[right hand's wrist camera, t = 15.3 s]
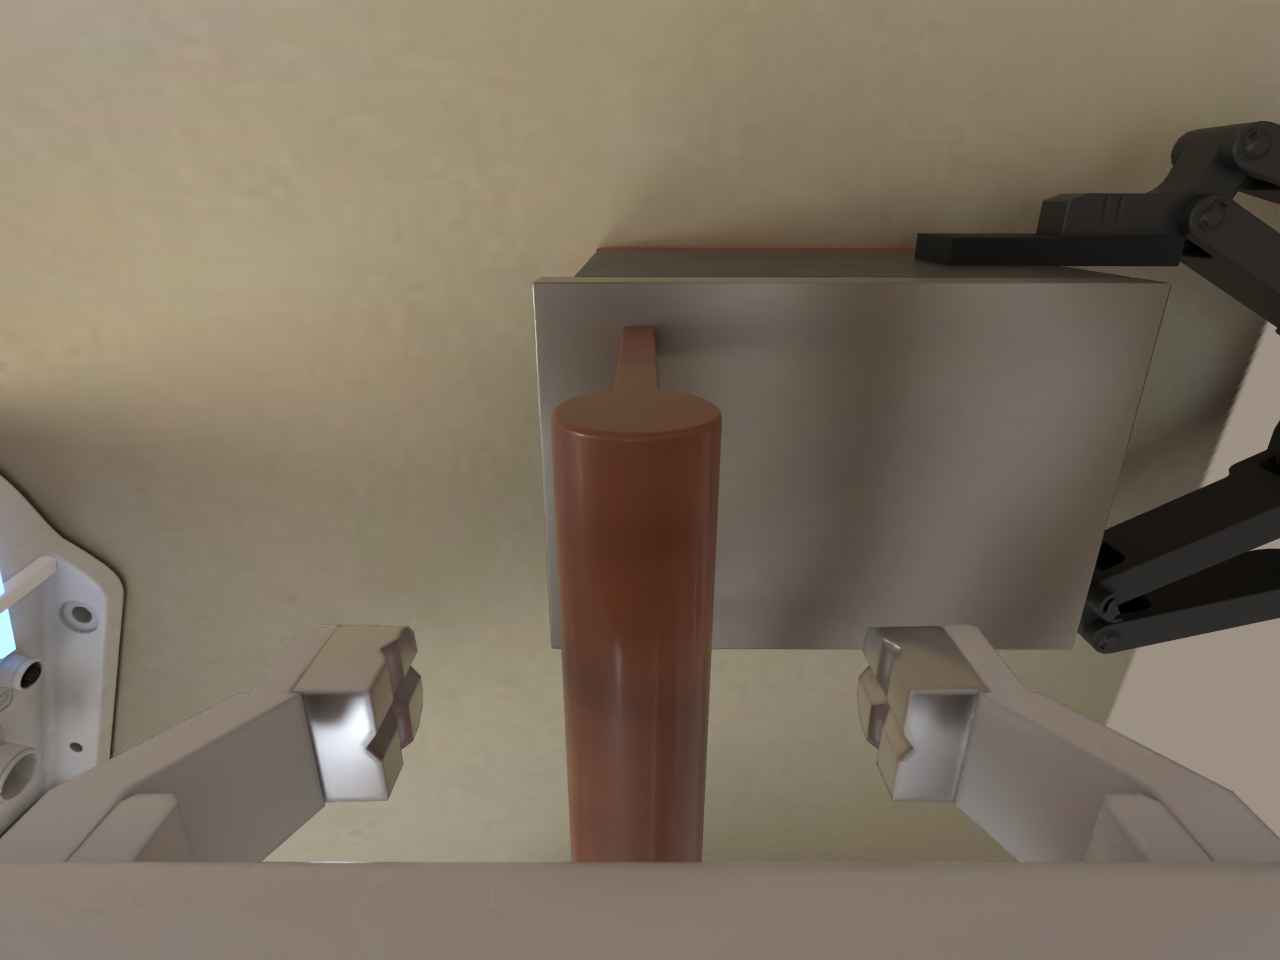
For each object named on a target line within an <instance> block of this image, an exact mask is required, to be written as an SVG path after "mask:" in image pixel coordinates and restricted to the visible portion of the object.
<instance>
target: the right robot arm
mask: <svg viewBox="0 0 1280 960" xmlns="http://www.w3.org/2000/svg"><path fill="white" fill-rule="evenodd" d="M123 597H124V591H123V586H122V583H121V581H120V579H119V578H118V576H117V575H116V574H115V573H114V572H113V571H112V570H111V569H110V568H109V567H107V566H106V565H105V564H103V563H102V562H101V561H99V560H98V559H96V558H95V557H93V556H92V555H90V554H88V553H87V552H85V551H84V550H82V549H80V548H79V547H77V546H75V545H74V544H72V543H70V542H69V541H67V540H65V539H64V538H62V537H61V536H60V535H59V534H58V533H57V532H56V531H55V530H54V529H53V528H52V527H51V526H50V525H49V524H48V523H47V522H46V521H45V520H44V519H43V518H42V517H41V515H40V514H39V513H38V512H37V511H36V510H35V509H34V507H33V506H32V505H31V504H30V503H29V502H28V501H27V500H26V498H25V497H24V496H23V495H22V494H21V493H20V492H19V491H18V490H17V489H16V488H15V487H13V486H12V485H11V484H10V483H9V482H8V481H7V480H6V479H5V478H3V477H2V476H1V475H0V960H1280V838H1279V837H1278V836H1277V835H1276V834H1275V833H1274V832H1273V831H1272V830H1271V829H1270V828H1269V827H1268V826H1267V825H1266V824H1265V823H1264V822H1263V821H1262V820H1261V819H1260V818H1259V817H1258V816H1257V815H1256V814H1255V813H1254V812H1253V811H1252V810H1251V809H1250V808H1249V807H1248V806H1247V805H1246V804H1245V803H1244V802H1243V801H1242V800H1241V799H1240V798H1239V797H1238V796H1237V795H1236V794H1235V793H1234V792H1233V791H1231V790H1229V789H1227V788H1225V787H1223V786H1221V785H1219V784H1217V783H1215V782H1213V781H1211V780H1209V779H1207V778H1205V777H1204V776H1202V775H1200V774H1198V773H1196V772H1194V771H1192V770H1190V769H1188V768H1186V767H1184V766H1182V765H1180V764H1178V763H1176V762H1174V761H1172V760H1171V759H1169V758H1167V757H1165V756H1163V755H1161V754H1159V753H1157V752H1155V751H1153V750H1151V749H1149V748H1147V747H1145V746H1143V745H1141V744H1139V743H1138V742H1135V741H1134V740H1132V739H1130V738H1128V737H1126V736H1124V735H1122V734H1120V733H1118V732H1116V731H1114V730H1112V729H1110V728H1108V727H1106V726H1104V725H1103V724H1101V723H1099V722H1097V721H1095V720H1093V719H1091V718H1089V717H1087V716H1085V715H1083V714H1081V713H1079V712H1077V711H1075V710H1073V709H1071V708H1070V707H1068V706H1066V705H1064V704H1062V703H1060V702H1058V701H1056V700H1054V699H1052V698H1050V697H1048V696H1046V695H1044V694H1042V693H1030V692H1029V691H1028V690H1027V689H1026V687H1025V686H1024V685H1023V684H1022V682H1021V681H1020V680H1019V679H1018V677H1017V676H1016V675H1015V674H1014V672H1013V671H1012V670H1011V669H1010V667H1009V666H1008V665H1007V664H1006V663H1005V661H1004V660H1003V659H1002V658H1001V656H1000V655H999V654H998V653H997V651H996V650H995V649H994V648H993V646H992V645H991V644H990V643H989V641H988V640H987V639H986V638H985V636H984V635H983V634H982V633H981V632H980V630H979V629H978V628H977V627H975V626H973V625H971V624H962V625H936V626H905V627H868V630H867V632H866V635H865V639H864V645H863V653H864V655H865V657H866V659H867V661H868V663H869V666H868V667H867V669H866V670H865V671H864V672H863V673H862V674H861V675H860V676H859V682H858V691H857V702H858V715H859V719H860V723H861V727H862V730H863V732H864V735H865V737H866V740H867V741H868V742H869V743H871V744H872V745H873V746H875V747H876V748H877V749H879V751H878V758H877V766H878V768H879V771H880V773H881V775H882V778H883V780H884V782H885V784H886V787H887V789H888V791H889V794H890V796H891V798H892V801H922V802H955V806H956V807H957V808H958V809H960V810H961V811H962V812H963V813H964V814H965V815H966V816H968V817H969V818H970V819H971V820H972V821H973V822H974V823H976V824H977V825H978V826H979V827H980V828H981V829H982V830H984V831H985V832H986V833H987V834H988V835H989V836H990V837H991V838H993V839H994V840H995V841H996V842H997V843H998V844H999V845H1001V846H1002V847H1003V848H1004V849H1005V850H1006V851H1007V852H1009V853H1010V854H1011V855H1012V856H1013V857H1014V858H1015V859H1017V860H1018V861H1019V862H261V861H262V860H264V859H265V858H266V857H267V856H268V855H269V854H270V853H272V852H273V851H274V850H275V849H276V848H277V847H278V846H280V845H281V844H282V843H283V842H284V841H285V840H286V839H288V838H289V837H290V836H291V835H292V834H293V833H294V832H296V831H297V830H298V829H299V828H300V827H301V826H302V825H304V824H305V823H306V822H307V821H308V820H309V819H310V818H312V817H313V816H314V815H315V814H316V813H317V812H318V811H320V810H321V809H322V808H323V807H324V806H325V803H324V802H357V801H388V798H389V796H390V794H391V791H392V789H393V787H394V784H395V782H396V780H397V777H398V775H399V773H400V770H401V768H402V766H403V759H402V752H401V749H403V748H404V747H405V746H407V745H408V744H409V743H411V742H412V741H413V740H414V737H415V735H416V732H417V729H418V727H419V723H420V717H421V712H422V706H423V689H422V681H421V676H420V675H419V674H418V673H417V672H416V671H415V670H414V669H413V668H412V667H411V663H412V661H413V659H414V657H415V655H416V653H417V646H416V641H415V635H414V631H413V630H412V629H411V628H410V627H409V626H374V625H343V626H342V625H309V626H305V627H303V628H302V629H301V630H300V631H299V632H298V634H297V635H296V636H295V637H294V639H293V640H292V641H291V642H290V644H289V645H288V646H287V647H286V649H285V650H284V651H283V652H282V654H281V655H280V656H279V657H278V659H277V660H276V661H275V662H274V664H273V665H272V666H271V667H270V668H269V670H268V671H267V672H266V673H265V675H264V676H263V677H262V678H261V680H260V681H259V682H258V683H257V685H256V686H255V687H254V688H253V690H252V691H251V692H250V693H238V694H236V695H234V696H232V697H230V698H228V699H226V700H224V701H222V702H220V703H218V704H216V705H214V706H212V707H210V708H208V709H206V710H204V711H202V712H201V713H199V714H197V715H195V716H193V717H191V718H189V719H187V720H185V721H183V722H181V723H179V724H177V725H175V726H173V727H171V728H169V729H167V730H165V731H164V732H162V733H160V734H158V735H156V736H154V737H152V738H150V739H148V740H146V741H144V742H142V743H140V744H138V745H136V746H134V747H132V748H130V749H128V750H127V751H125V752H123V753H121V754H119V755H117V756H115V757H113V758H111V759H110V748H111V737H112V725H113V714H114V702H115V690H116V679H117V667H118V656H119V644H120V633H121V621H122V609H123ZM86 609H88V610H89V611H90V612H89V611H87V610H86Z"/></svg>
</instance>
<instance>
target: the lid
mask: <svg viewBox="0 0 1280 960" xmlns="http://www.w3.org/2000/svg"><path fill="white" fill-rule="evenodd" d="M1170 289H1171V284H1170V283H1166V282H1159V281H1153V280H1146V279H1140V278H922V277H540V278H539V279H537V280H536V281H535V282H533V283H532V297H533V315H534V334H535V352H536V371H537V389H538V408H539V426H540V445H541V463H542V482H543V500H544V519H545V537H546V556H547V574H548V593H549V611H550V630H551V646H552V648H553V649H562V670H563V691H564V712H565V733H566V754H567V775H568V796H569V817H570V837H571V858H572V862H702V844H703V823H704V801H705V780H706V758H707V736H708V715H709V693H710V672H711V650H712V649H863V645H864V639H865V635H866V632H867V630H868V627H905V626H936V625H962V624H971V625H973V626H975V627H977V628H978V629H979V630H980V632H981V633H982V634H983V635H984V636H985V638H986V639H987V640H988V641H989V643H990V644H991V645H992V646H993V648H994V649H1009V650H1071V649H1072V648H1073V645H1074V641H1075V637H1076V634H1077V630H1078V626H1079V623H1080V619H1081V615H1082V612H1083V608H1084V604H1085V601H1086V597H1087V593H1088V590H1089V586H1090V582H1091V579H1092V575H1093V571H1094V568H1095V564H1096V560H1097V557H1098V553H1099V549H1100V546H1101V542H1102V538H1103V535H1104V531H1105V527H1106V524H1107V520H1108V516H1109V513H1110V509H1111V505H1112V502H1113V498H1114V494H1115V491H1116V487H1117V483H1118V480H1119V476H1120V472H1121V469H1122V465H1123V461H1124V458H1125V454H1126V450H1127V447H1128V443H1129V439H1130V436H1131V432H1132V428H1133V425H1134V421H1135V417H1136V414H1137V410H1138V406H1139V403H1140V399H1141V395H1142V392H1143V388H1144V384H1145V381H1146V377H1147V373H1148V370H1149V366H1150V362H1151V359H1152V355H1153V351H1154V348H1155V344H1156V340H1157V337H1158V333H1159V329H1160V326H1161V322H1162V318H1163V315H1164V311H1165V307H1166V304H1167V300H1168V296H1169V293H1170Z"/></svg>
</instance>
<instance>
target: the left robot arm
mask: <svg viewBox="0 0 1280 960" xmlns="http://www.w3.org/2000/svg"><path fill="white" fill-rule="evenodd" d="M1171 162H1172V165H1173V167H1172V169H1171V171H1170V172H1169V174H1168V176H1167V177H1166V178H1165V180H1164V181H1163V182H1162V183H1161V184H1160V185H1159V186H1158V187H1157V188H1155V189H1153V190H1152V191H1150V192H1147V193H1144V194H1100V193H1087V194H1059V195H1057V196H1054V197H1052V198H1049V199H1047V200H1044V201H1043V202H1042V207H1041V212H1040V217H1039V222H1038V227H1037V232H1036V234H938V233H918V236H917V243H916V250H915V257H914V258H918V259H923V260H928V261H933V262H938V263H943V264H948V265H1055V266H1178V265H1179V261H1180V262H1182V263H1183V264H1185V265H1186V266H1188V267H1189V268H1191V269H1192V270H1194V271H1195V272H1197V273H1198V274H1199V275H1201V276H1202V277H1204V278H1205V279H1207V280H1208V281H1210V282H1211V283H1213V284H1214V285H1216V286H1217V287H1219V288H1220V289H1221V290H1223V291H1224V292H1226V293H1227V294H1229V295H1230V296H1232V297H1233V298H1235V299H1236V300H1238V301H1239V302H1241V303H1242V304H1243V305H1245V306H1246V307H1248V308H1249V309H1251V310H1252V311H1254V312H1255V313H1257V314H1258V315H1260V316H1261V317H1263V318H1264V319H1265V320H1267V321H1268V322H1270V323H1271V324H1273V325H1274V326H1276V327H1277V329H1276V333H1278V334H1279V335H1280V234H1279V233H1278V232H1276V231H1275V230H1274V229H1272V228H1271V227H1269V226H1268V225H1267V224H1265V223H1264V222H1263V221H1261V220H1260V219H1258V218H1257V217H1256V216H1254V215H1253V214H1251V213H1250V212H1249V211H1247V210H1246V209H1244V208H1243V207H1242V206H1240V205H1239V204H1237V203H1236V202H1235V201H1233V200H1232V199H1233V198H1234V196H1235V194H1236V193H1237V191H1239V192H1242V193H1246V194H1249V195H1252V196H1255V197H1258V198H1261V199H1264V200H1268V201H1271V202H1274V203H1277V204H1280V125H1278V124H1275V123H1272V122H1266V121H1259V122H1251V123H1243V124H1236V125H1228V126H1220V127H1212V128H1205V129H1197V130H1193V131H1190V132H1187V133H1185V134H1184V135H1183V136H1182V137H1180V138H1179V139H1178V141H1177V142H1176V144H1175V145H1174V147H1173V150H1172V153H1171ZM1278 538H1280V421H1279V423H1278V424H1277V426H1276V427H1275V429H1274V432H1273V434H1272V437H1271V440H1270V443H1269V446H1268V449H1267V450H1265V451H1263V452H1261V453H1259V454H1256V455H1254V456H1252V457H1249V458H1247V459H1245V460H1243V461H1240V462H1238V463H1236V464H1234V465H1232V466H1231V467H1230V468H1229V475H1228V476H1227V477H1226V478H1224V479H1221V480H1219V481H1217V482H1214V483H1212V484H1210V485H1207V486H1205V487H1203V488H1201V489H1198V490H1196V491H1194V492H1191V493H1189V494H1187V495H1185V496H1182V497H1180V498H1178V499H1175V500H1173V501H1171V502H1168V503H1166V504H1164V505H1162V506H1159V507H1157V508H1155V509H1152V510H1150V511H1148V512H1145V513H1143V514H1141V515H1139V516H1136V517H1134V518H1132V519H1129V520H1127V521H1125V522H1122V523H1120V524H1118V525H1116V526H1113V527H1111V528H1109V529H1106V530H1105V531H1104V535H1103V538H1102V542H1101V546H1100V549H1099V553H1098V557H1097V560H1096V564H1095V568H1094V571H1093V575H1092V579H1091V582H1090V586H1089V590H1088V593H1087V597H1086V601H1085V604H1084V608H1083V612H1082V615H1081V619H1080V623H1079V626H1078V630H1077V632H1078V633H1079V634H1080V635H1081V636H1082V637H1083V638H1084V639H1085V640H1086V641H1087V642H1088V643H1089V644H1090V645H1091V646H1092V647H1093V648H1094V649H1095V650H1096V651H1097V652H1100V653H1103V654H1106V653H1114V652H1119V651H1123V650H1128V649H1133V648H1138V647H1143V646H1147V645H1152V644H1157V643H1162V642H1166V641H1171V640H1176V639H1181V638H1185V637H1190V636H1195V635H1200V634H1205V633H1209V632H1214V631H1219V630H1224V629H1229V628H1233V627H1238V626H1243V625H1248V624H1252V623H1257V622H1262V621H1266V620H1272V619H1276V618H1280V549H1260V550H1253V551H1250V550H1252V549H1254V548H1257V547H1259V546H1262V545H1264V544H1266V543H1269V542H1271V541H1274V540H1276V539H1278Z"/></svg>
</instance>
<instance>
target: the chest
mask: <svg viewBox="0 0 1280 960" xmlns="http://www.w3.org/2000/svg"><path fill="white" fill-rule="evenodd" d="M915 250H916V248H598V249H597V252H596V253H595V254H594V255H593V256H592V257H591V258H590V260H589V261H588V262H587V263H586V264H585V265H584V266H583V267H582V269H581V270H580V271H579V272H578V273H577V274H576V275H575V276H574V277H922V278H1130V277H1126V276H1120V275H1113V274H1107V273H1100V272H1094V271H1087V270H1081V269H1074V268H1068V267H1061V266H1055V265H948V264H943V263H938V262H933V261H928V260H923V259H918V258H914V257H915Z"/></svg>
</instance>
